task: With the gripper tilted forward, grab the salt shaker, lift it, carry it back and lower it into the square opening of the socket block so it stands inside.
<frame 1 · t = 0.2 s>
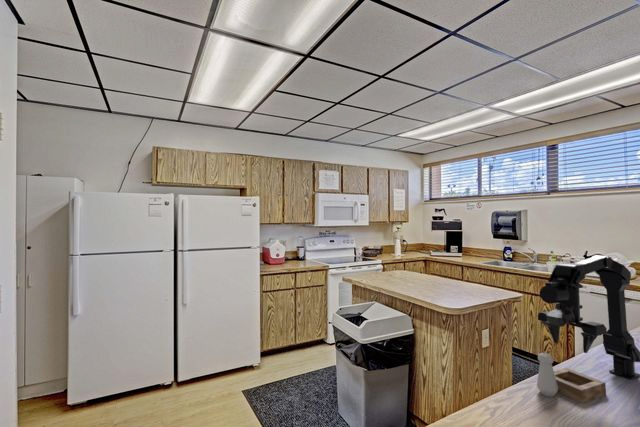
hand: (570, 347, 110), 14 cm above the countertop, tool pointing down, fingers open, 9 cm apart
salt shaker: (547, 394, 108), on the countertop
socket block: (574, 390, 109), on the countertop
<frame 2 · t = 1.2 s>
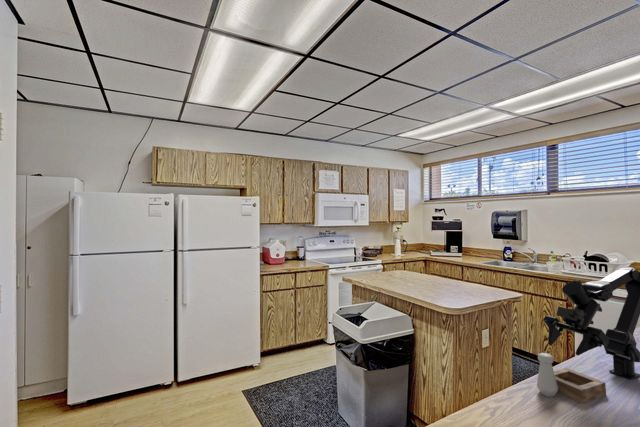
hand: (562, 349, 110), 13 cm above the countertop, tool tilted 45°, fingers open, 9 cm apart
nothing on the countertop moved.
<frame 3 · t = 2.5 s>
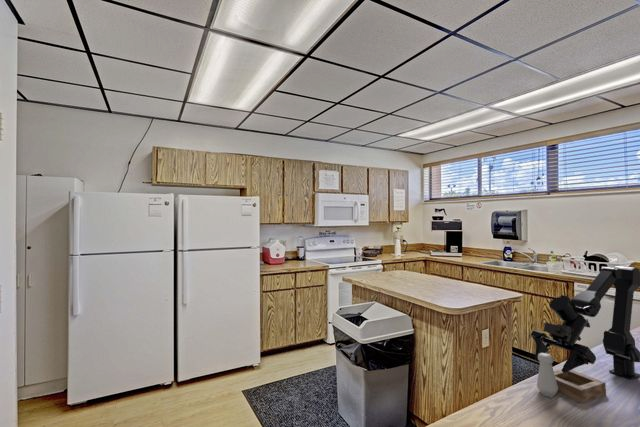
hand: (548, 366, 108), 9 cm above the countertop, tool tilted 45°, fingers open, 9 cm apart
nothing on the countertop moved.
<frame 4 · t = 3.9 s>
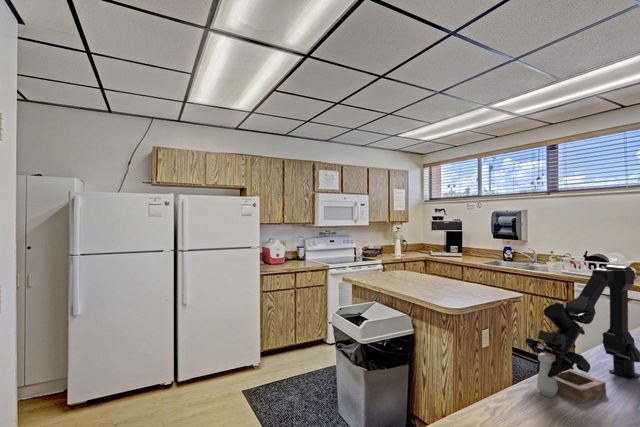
hand: (543, 374, 107), 7 cm above the countertop, tool tilted 45°, fingers closed on salt shaker, 3 cm apart
salt shaker: (547, 394, 108), on the countertop, touching gripper
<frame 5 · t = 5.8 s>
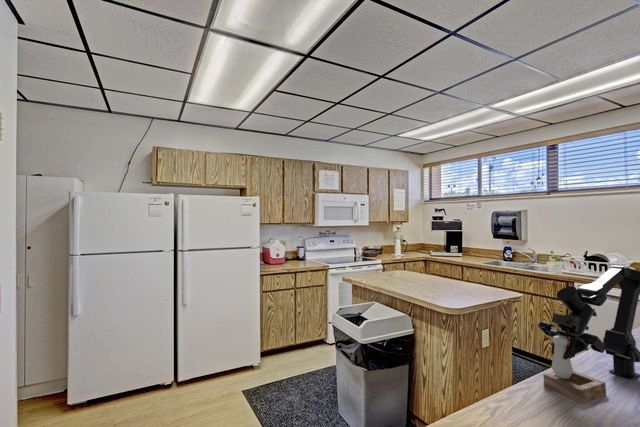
hand: (558, 356, 109), 12 cm above the countertop, tool tilted 45°, fingers closed on salt shaker, 3 cm apart
salt shaker: (562, 376, 109), point 5 cm above the countertop, touching gripper
when the fingers open (8 cm above the countertop, at t = 7.9 s): salt shaker stays where it is, resting on socket block.
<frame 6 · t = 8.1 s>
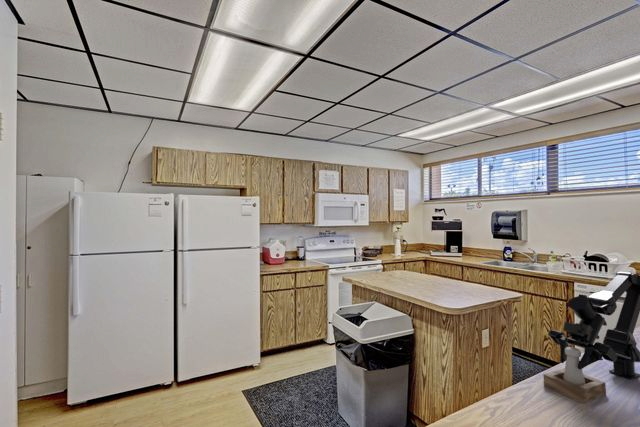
hand: (569, 365, 109), 9 cm above the countertop, tool tilted 45°, fingers open, 5 cm apart
salt shaker: (574, 387, 109), point 1 cm above the countertop, touching socket block
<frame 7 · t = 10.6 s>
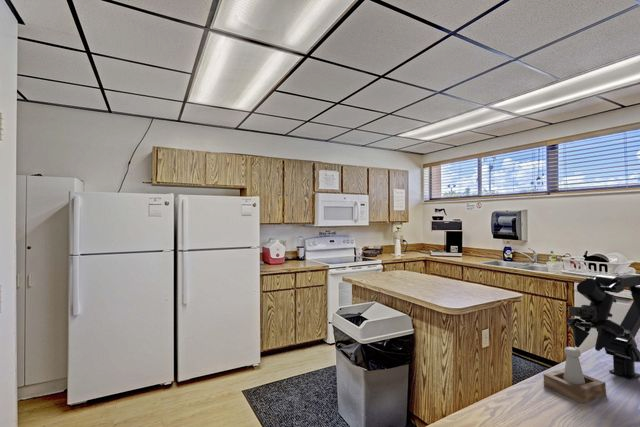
hand: (586, 348, 112), 13 cm above the countertop, tool tilted 35°, fingers open, 9 cm apart
nothing on the countertop moved.
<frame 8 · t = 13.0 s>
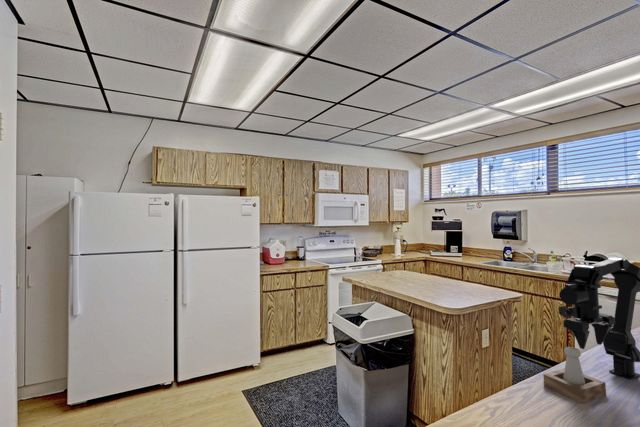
hand: (590, 346, 113), 13 cm above the countertop, tool pointing down, fingers open, 9 cm apart
nothing on the countertop moved.
at the end: salt shaker 0.3 cm off-centre on the socket block, point 0.8 cm above the socket block's base; salt shaker tilted 0°; the gripper is holding nothing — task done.
